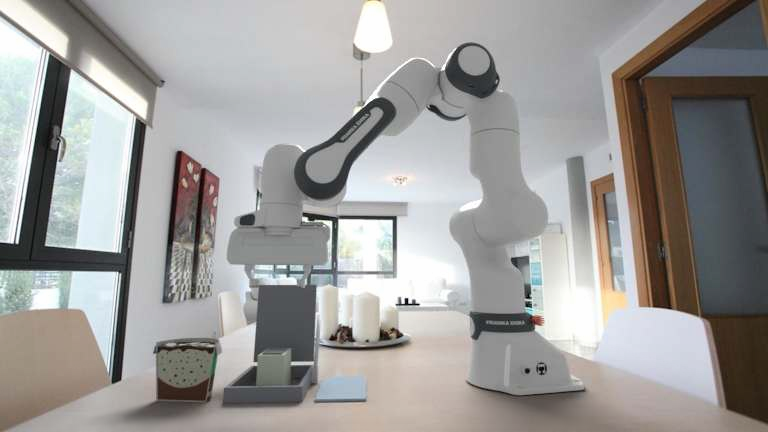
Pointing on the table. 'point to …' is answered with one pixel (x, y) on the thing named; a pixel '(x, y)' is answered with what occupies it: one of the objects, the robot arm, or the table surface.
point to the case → (295, 393)
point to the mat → (342, 389)
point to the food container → (186, 369)
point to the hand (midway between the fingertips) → (277, 287)
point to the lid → (286, 320)
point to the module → (274, 367)
